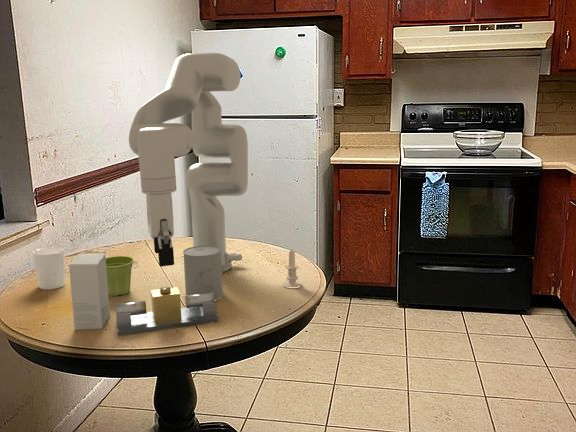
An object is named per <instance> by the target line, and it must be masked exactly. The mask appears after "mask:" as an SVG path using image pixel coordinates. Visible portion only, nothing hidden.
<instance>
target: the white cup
mask: <svg viewBox="0 0 576 432" xmlns="http://www.w3.org/2000/svg"><path fill="white" fill-rule="evenodd" d="M32 258H33V265H34V271H35V274H36V275H35V276H36V279H37V284H38V285H37V286H38V288H39V289H41V290H55V289H60V288H61V287H63V286H65V285H66V276H65V275H66V265H65V264H66V262H65V249H64V248H63V247H60V246H50V247H48V246H47V247H42V248H38V249H36V250H35V249H34V250H33V251H32Z"/></svg>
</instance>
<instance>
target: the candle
mask: <svg viewBox="0 0 576 432" xmlns="http://www.w3.org/2000/svg"><path fill="white" fill-rule="evenodd" d="M284 268H285V269H287V273H288V275H287V276H286V278H285V279H286V280H287V281H285V282H283V283H282V286H283V285H284V286H286V287H298V286H301V285H302V286H303V283H302V282H301V281H298V280H299V276H298V275H297V269H300V265H298V264H296V254H295V250H294V249H291V250H289V251H288V264H287V265H285V266H284ZM302 286H301V287H302Z"/></svg>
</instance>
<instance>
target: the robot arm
mask: <svg viewBox="0 0 576 432" xmlns="http://www.w3.org/2000/svg"><path fill="white" fill-rule="evenodd" d="M240 82H241V71H240V67H239V64H238V63H237V62H236V61H235V59H233V58H231V57H230V56H228V55H225V54H223V53H220V52H219V53H218V52H204V53H203V52H200V53H199V52H194V53H193V52H191V53H185V54H182V55H180V56H178V57H177V58H176V59H175V61H174V63H173V65H172V69H171V70H170V74H169V76H168V80H167V82H166V85H165V89H164V90H162V91H161V92H159V93H158V94H156V95H155V96H153V97H151V98H150V99H149V100H148V101H146V102H145V103H144V104H143V105H141V106H140V107H139V109H138V110H137V112H136V113H135V116H134V117H133V118H134V119H133V121H132V123H131V127H130V129H129V134H128V145H129V147H130V149H131V151H132V153H134V154H135V155H137V156H138V165H139V166H138V167H139V177H140V178H139V179H140V189H141V193H142V194H145V195H146V197H145V198H146V199H145V200H146V214H147V215H146V217H147V230H148V233H149V236H150V238H151V239H153V246H154V249H153V250H154V253H155V254H158V264H159V267H169V266H170V267H171V266H173V265H175V255H174V252H175V251H174V247H173V241H172V237H173V236H174V235H175V233H174V231H175V229H174V208H173V198H172V196H173V195H172V193H174V192H176V191H177V178H176V163H175V161H176V159H175V157H184V156H186V155H187V154H188V153H190V152H191V150H192V151H193V155H195V156H196V157H199V158H205V159H206V158H209V159H230V161H231V162H197V163H193V164H192V165H190V167H189V168H188V169H187V172H186V185H187V189H188V194H189V199H190V208H191V225H192V227H191V228H192V242H193V243H192V245H193V246H192V247H195V246H215V247H218V248H220V249H221V268H222V273H225V271H226V272H228V271H229V269H230V270H231V268H232V267H233V266H232V262H233V261H236V262H237V261H242V260H243V255H242V253H237V254H236V252H234V253H228V252H227V246H226V244H227V243H226V219H225V218H226V217H225V216H226V215H225V209H224V205H223V204H222V203H221V201H220V200H219V199H218V198H217V197H240V196H242V195H244V194H245V193H246V192H247V190H248V183H249V180H248V179H249V173H248V172H249V171H248V170H249V169H248V167H249V161H248V160H249V155H248V154H249V151H248V150H249V146H248V143H249V142H248V135H247V133H246V129H245V128H244V127H243V126H241V125H239V124H233V123H232V124H223V123H222V106H221V104H220V102H219V101H218V99H217V97H215V95H214V94H213V93H212V92H233V91H235V90H237V88H239V85H240ZM190 113H191V128H190V127H189V126H187V125H186V124H184V123H179V122H177V123H176V122H175V123H173V122H171V123H170V122H168V121H171V120H175V119H178V118H181V117H182V116H185V115H188V114H190ZM166 122H167V123H166Z"/></svg>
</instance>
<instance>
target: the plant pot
mask: <svg viewBox="0 0 576 432" xmlns="http://www.w3.org/2000/svg"><path fill="white" fill-rule="evenodd" d="M134 262H135V258H134V257H132V256H127V255H117V256H115V255H114V256H109V257H106V271H107V286H108V297H109V296H111V297H118V296H119V295H122V296H124V295H127V294H128V293H129V292H131V280H132V279H131V278H132V268H133V264H134Z"/></svg>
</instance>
